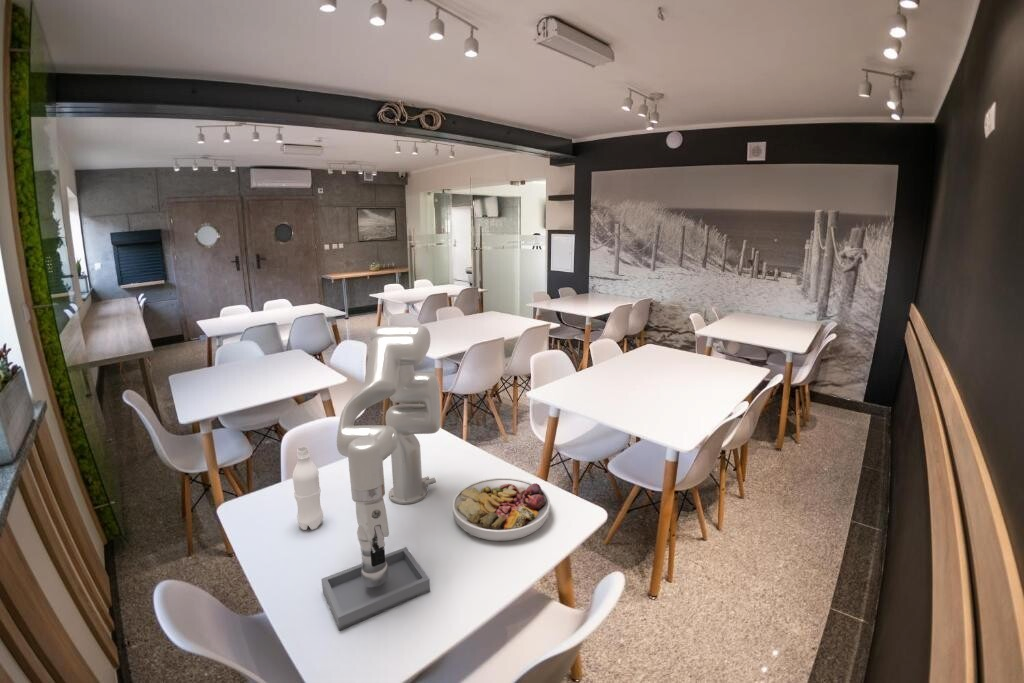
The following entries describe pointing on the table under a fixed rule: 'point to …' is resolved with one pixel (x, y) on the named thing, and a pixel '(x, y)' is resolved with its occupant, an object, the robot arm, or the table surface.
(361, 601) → the tray
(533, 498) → the bowl
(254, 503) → the table surface
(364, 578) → the plastic bottle
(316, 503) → the water bottle
